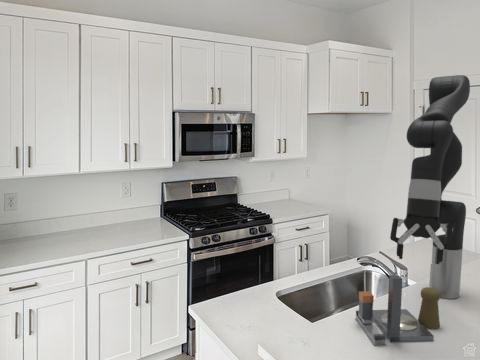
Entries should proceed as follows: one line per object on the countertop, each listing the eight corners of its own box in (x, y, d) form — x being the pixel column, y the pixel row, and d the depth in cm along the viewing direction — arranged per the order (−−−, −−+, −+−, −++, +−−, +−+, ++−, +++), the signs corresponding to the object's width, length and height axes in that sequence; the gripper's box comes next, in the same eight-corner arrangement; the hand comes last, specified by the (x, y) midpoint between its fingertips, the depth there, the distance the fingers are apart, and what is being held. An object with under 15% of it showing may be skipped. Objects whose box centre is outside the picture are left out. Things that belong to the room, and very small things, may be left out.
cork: (433, 319, 117) (435, 284, 116) (444, 329, 111) (446, 293, 110) (413, 319, 117) (415, 285, 116) (423, 329, 111) (425, 293, 110)
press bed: (368, 314, 121) (370, 259, 118) (406, 313, 121) (408, 258, 119) (390, 342, 105) (393, 278, 103) (433, 340, 105) (437, 277, 103)
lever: (357, 315, 116) (357, 290, 115) (367, 315, 116) (368, 290, 115) (363, 323, 111) (363, 297, 110) (373, 323, 111) (374, 297, 110)
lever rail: (355, 318, 118) (355, 310, 118) (365, 318, 118) (365, 310, 118) (374, 345, 103) (374, 336, 103) (385, 345, 103) (385, 335, 103)
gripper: (452, 201, 100) (446, 263, 99) (393, 195, 104) (388, 255, 104) (458, 200, 92) (452, 268, 92) (394, 195, 97) (389, 258, 97)
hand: (418, 261), depth 98 cm, fingers open, 8 cm apart
